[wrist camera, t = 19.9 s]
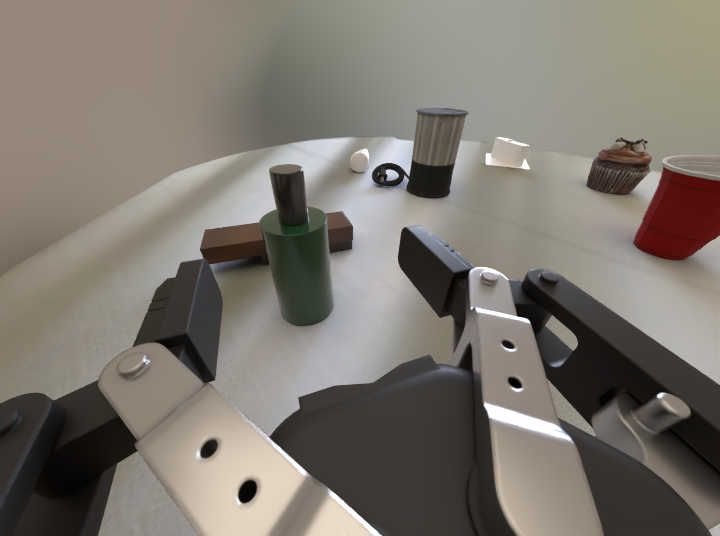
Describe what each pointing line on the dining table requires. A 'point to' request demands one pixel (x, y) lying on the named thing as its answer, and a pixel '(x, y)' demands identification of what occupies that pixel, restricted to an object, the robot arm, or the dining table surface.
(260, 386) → the dining table surface
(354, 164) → the unicorn horn
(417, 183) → the milk frother
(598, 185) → the cupcake
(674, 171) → the plastic cup
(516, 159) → the napkin holder
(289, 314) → the green bottle
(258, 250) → the brush
